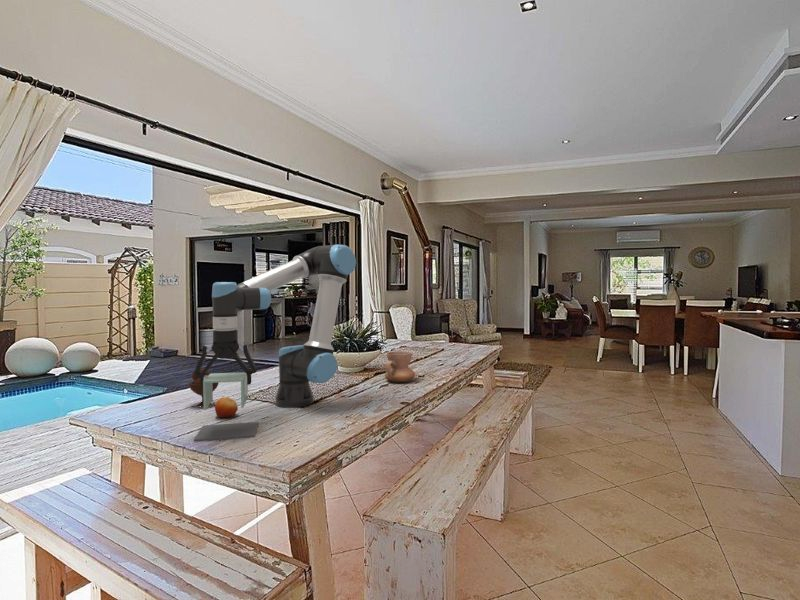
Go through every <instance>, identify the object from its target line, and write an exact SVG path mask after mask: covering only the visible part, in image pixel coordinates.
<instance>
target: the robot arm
mask: <svg viewBox="0 0 800 600" xmlns="http://www.w3.org/2000/svg"><path fill="white" fill-rule="evenodd" d="M356 265H357V261H356V256H355V253H354V252H353V250H352V249H351V248H350V247H349V246H348V245H345V244H339V243H338V244H332V245H331V244H330V245H318V246H316V247H312V248H310V249H307V250H306V251H304V252H302V253H300V254H297V255H295V256H293V258H292V260H290V261H288V262H286V263H283V264H281V265H279V266H276V267H274V268H272V269H269V270H267V271H265V272H263V273H261V274H258V275H256V276H254V277H251V278H249V279H247V280H244V281H243V282H240V283H238V284H237V282H235V281H229V282H228V281H220V282H219V281H215V282H214V283H213V284H212V290H211V299H212V329H214V330H212V345H207V344H205V345H203V346H202V352H201V355H200V358H199V359H198V362H197V363H196V364H197V365H196V367H195V369H194V371H195V372H194V371H193V372H194V375H197V376H199V377H200V386H201V387H203V381H204V380H205V379H206V378H207V377H208V376H205V374H206V373H207V371H209V370H210V369H211V368H212V366H213V365H214V364H215V362H216V361H217V360H218V358H219V359H232V358H233V360H234V361H236V363H237V364H238V366H240V369H242V370H243V372H245V373H246V374H245V376H244V377H245V395H247V396H249V395H248V394H249V386H250V385H251V383H252V374H255V373H257V372H258V371H257V370H258V369H257V366H256V364H255V363H254V360H253V358H252V357H251V356H252V355H251V354H250V351H249V345H248V344H247V343H244V344H239V342H238V339H239V337H238V334H239V333H238V330H237V328H238V311H253V310H254V311H255V310H256V311H257V310H259V311H260V310H266V309H268V308H269V307H270V305H271V303H272V295H271V292H273V291H275V290H277V289H280V288H282V287H283V286H286V285H289V284H290V283H292V282H294V281H296V280H298V279H306V278H308V277H311V276H316V275H317V278H318V279H319V287H318V291H317V296H316V301H315V302H316V303H315V307H314V312H313V313H314V314H313V316H312V317H313V318H312V322H311V328H310V333H309V336H308V337H309V339H308V341H307V342H305V343H304V344H301V345H300V344H299V345H289V346H284V347H281V348H280V349H279V350H278V351H279V352H278V372H279V373H278V374H279V375H278V377H279V378H278V379H279V380H278V381H279V385H278V389H277V391H276V395H275V398H274V400H275V401H274V403H275V404H274V405H276V406H278V407H281V408H282V407H283V408H299V407H305V406H309V405H311V404H312V403H314V400H315V399H314V397H315V396H314V393H313V391H312V388H311V385H310V382H311V383H313V384H314V383H315V384H324V383H327V382H329V381H330V380H331V379H333V377H334V376H335V374H336V373H337V372H336V371H337V368H338V360H336V359H337V358H336V356H335V355H334V351H335V348H334V347H333V346H332V341H333V340H332V339H333V334H334V329H335V325H336V318H337V314H338V308H339V302H340V299H341V297H340V296H341V293H342V287H343V285H344V284H345V283H347V281H348V275H350V274H352V273H353V272H354V271H355V269H356ZM239 349H240V350H241V352H243V355H244V357H245V358H246V361H247V363H248V365H249V367H250V368H249V367H248V365H247V364H246V363H245V361H244V360H242V358H241V356H240V355H239V354H238V350H239ZM210 351H213V353H214V355H212V358H211V359H210V360H209V362H208V364H206V366H205V367H204V370H203V371H202V372H201V371H200V370H201V368H203V365H204V363H205V360H206V357H207V355H208V353H209V352H210Z"/></svg>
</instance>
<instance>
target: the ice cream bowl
mask: <svg viewBox="0 0 800 600" xmlns="http://www.w3.org/2000/svg"><path fill="white" fill-rule="evenodd" d="M204 369H205V367H204V368H203V367H201V370H200V371H201V372H202V371H203V370H204ZM194 372H195V370H193V371H192V374H191V378H192V379H193V380H191V381H190V382H188V387H189V388H190V390H191V392H193V393H195V394H196V395H198V396H201V401H200V402H198V404H197V407H198V406H201V407H200V408H204V404H203V387H201V386H200V377H199V376H197V375H194ZM210 374H213V372H211V371H209V370H208V371H207V373H206V374H205V376H209V375H210ZM219 383H220V382H218V383H212V384H213V392H214V391H215V390H216V389H217V388H218V386H219ZM210 405H211V406H212V405H213V403H212V402H211V403H210ZM210 405H209V406H208V407H210Z"/></svg>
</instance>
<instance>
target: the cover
mask: <svg viewBox="0 0 800 600" xmlns="http://www.w3.org/2000/svg"><path fill="white" fill-rule="evenodd" d="M212 373H213V372H212ZM245 374H246V373H245V371H243V372H241V371H240V372H222V373H221V372H217V373H215V372H214V373H213V374H210V375H209V376H208V377H207V378H206V379H205V380H204V381H203V404H204V407H203V411H207V409H208V407H210V406H209V405H210V403H212V402H213V400H214V397H213V395H214V394H213V393H214V391H213V384H212V383H218V382H219V383H238V382H240V401H241V402H240V408H241V409H244V407H245V406H246V402H247V401H248V395H245V377H244V376H245ZM219 383H218V384H219Z"/></svg>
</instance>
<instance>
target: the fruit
mask: <svg viewBox="0 0 800 600" xmlns="http://www.w3.org/2000/svg"><path fill="white" fill-rule="evenodd" d="M238 408H239V407H238V404H237V402H236V401H235V399H233V398H230V397H229V396H228V397H220V398H219V399H218V400H217V401H216V402H215V405H214V409H215V415H216V417H215V418H216V419H217V418H222V419H230V418H232V417H234V416H235V414H237V412H238Z"/></svg>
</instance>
